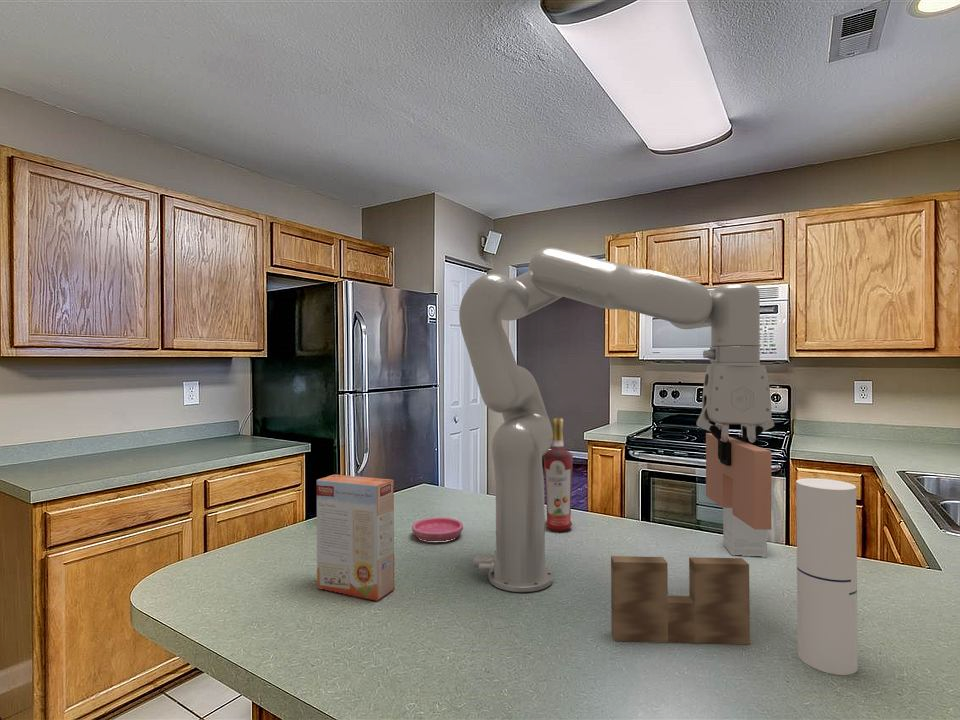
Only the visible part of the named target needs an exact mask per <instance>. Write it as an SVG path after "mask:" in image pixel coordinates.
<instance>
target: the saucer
mask: <svg viewBox="0 0 960 720" xmlns="http://www.w3.org/2000/svg"><path fill="white" fill-rule="evenodd" d="M463 529H464V523H463V522H461V521H460V520H458V519H456V518H452V517H451V518H450V517H428V518H423V519H419V520H418V521H417V520H416V522H414V523H413V524H412V526H411V530H412V532H413V534H414V535H415V536H416V537H417V538H418V539H419V538H420V539H422V540H426V541H446V540H451V539H454V538H456V537H457V538H458V536H459V535H461V532H462V531H463ZM457 538H456V539H457ZM420 539H419V540H420ZM454 540H455V539H454Z"/></svg>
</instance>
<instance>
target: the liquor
mask: <svg viewBox="0 0 960 720" xmlns="http://www.w3.org/2000/svg"><path fill="white" fill-rule="evenodd" d="M563 428H564V418H562V417H560V418H557V417H556V418H552V431H553V440H552V444H551V447H552V448H551V449H549V450H548V451H547V452H546V453H545V454H544V455H543V464H544V465H543V467H544V469H543V472H544V487H545V499H546V501H545V503H546V520H545V527H547V528H548V530H550V531H552V530H553V531H552V532H556V531H557V533H558V532H559V533H560V532H562V531H563V532H566V531H568V530H569V529H570V528H571V527H572V526H573V523H572V521H571V520H572V519H571V514H572V513H571V511H572V510H571V509H572V483H573V457H574V455H573V453H571V452H570V451H568V450H566V449H565V444H564V435H563V430H564V429H563Z"/></svg>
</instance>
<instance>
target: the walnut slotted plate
mask: <svg viewBox="0 0 960 720" xmlns="http://www.w3.org/2000/svg"><path fill="white" fill-rule="evenodd" d="M688 566H689V567H688V569H689V570H688V571H689V572H688V575H689V576H688V579H689V580H688V581H689V582H688V585H689V587H688V588H689V589H688V591H689V594H688V595H669V594H668V593H669V591H668V590H669V588H668V579H669V578H668V569H669V568H668V562H667V560H666V559H665V558H664V556H631V555H630V556H628V555H627V556H624V555H622V556H621V555H611V556H610V593H611V594H610V597H611V598H610V599H611V601H610V602H611V604H610V606H611V607H610V608H611V609H610V611H611V614H610V616H611V618H610V620H611V635H612V638H613V640H614V642H638V643H639V642H640V643H641V642H642V643H645V642H646V643H673V644H674V643H675V644H676V643H678V644H680V643H681V644H683V643H684V644H716V645H717V644H718V645H750V644H751V629H750V628H751V627H750V626H751V622H750V621H751V620H750V619H751V618H750V617H751V615H750V612H751V611H750V609H751V608H750V606H751V605H750V600H751V599H750V563H748V562H747V561H746V560H745V559H744V558H742V557H696V556H695V557H693V556H691V557H690V556H689V558H688Z"/></svg>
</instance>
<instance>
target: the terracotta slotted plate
mask: <svg viewBox="0 0 960 720" xmlns="http://www.w3.org/2000/svg"><path fill="white" fill-rule="evenodd" d="M728 438H729V442H731V465H730V466H726V465H724V464H722V463H721V462H720V460H719V459H718V440H717V439H716V438H715V437H714V436H713V435H712V434H711V433H710V432H705V497H706V498H708V499H709V500H710V501H712V502H714V503H715V504H717V505H718V506H720V507H721V508H722V509H723V508H733V515H734V516H736V517H737V518H739V519H740V520H741V521H743V522H744V523H746V524H747V525H749V526H750V527H752V528H753V529H755V530H767V531H770V530H772V450H769V449H766V448H763V447H759V446H757V445H754V444H753V445H752V444H749V443H746V442H743V441H740V440H741V439H737V438H734V437H731V436H728Z"/></svg>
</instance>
